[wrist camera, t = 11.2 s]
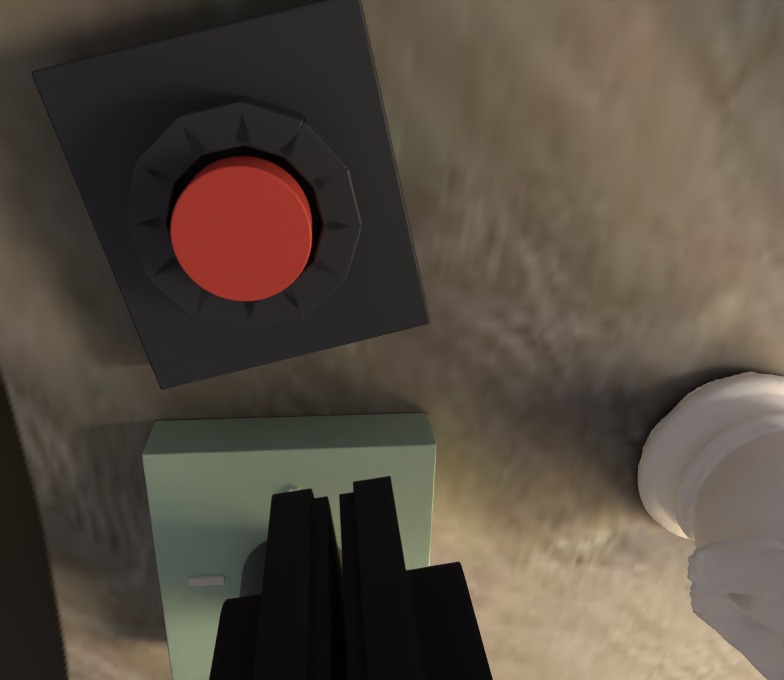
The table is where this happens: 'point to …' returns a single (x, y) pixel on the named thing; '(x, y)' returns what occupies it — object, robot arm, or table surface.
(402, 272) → the button box
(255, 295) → the button
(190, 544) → the console
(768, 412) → the cherub figurine
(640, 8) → the table surface
